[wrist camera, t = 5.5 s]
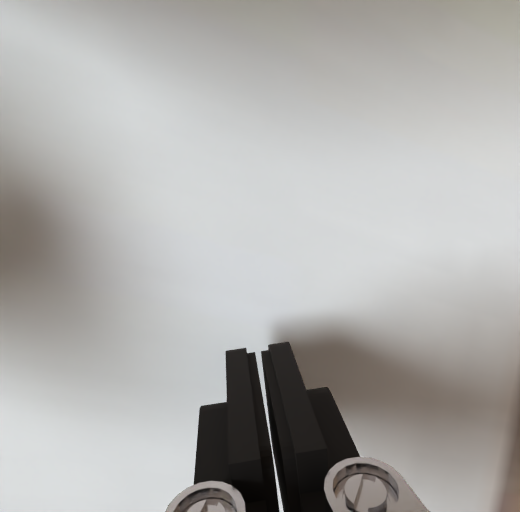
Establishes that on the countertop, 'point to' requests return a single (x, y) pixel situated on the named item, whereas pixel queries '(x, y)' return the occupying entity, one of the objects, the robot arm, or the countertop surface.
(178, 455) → the countertop surface
